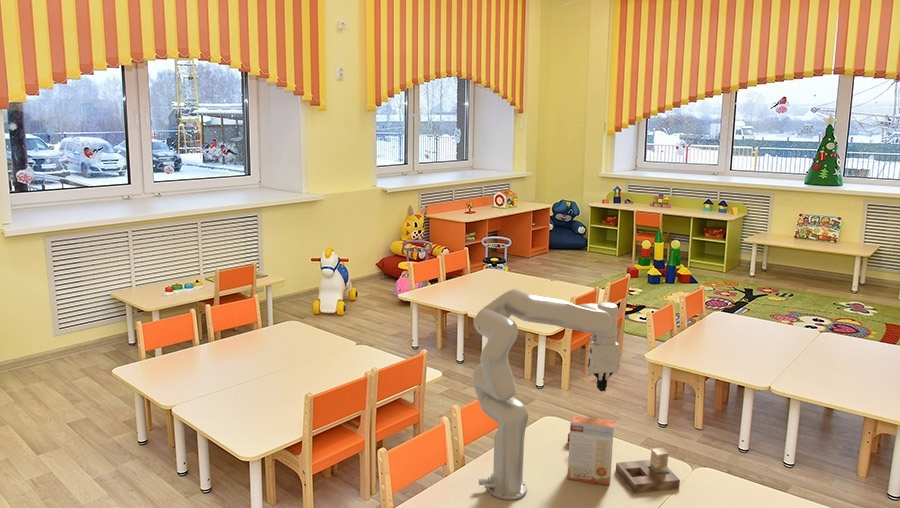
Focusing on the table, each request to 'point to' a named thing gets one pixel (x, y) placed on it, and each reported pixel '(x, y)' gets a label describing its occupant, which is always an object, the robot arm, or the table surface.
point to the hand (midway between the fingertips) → (601, 389)
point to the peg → (658, 461)
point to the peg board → (645, 477)
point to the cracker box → (590, 450)
